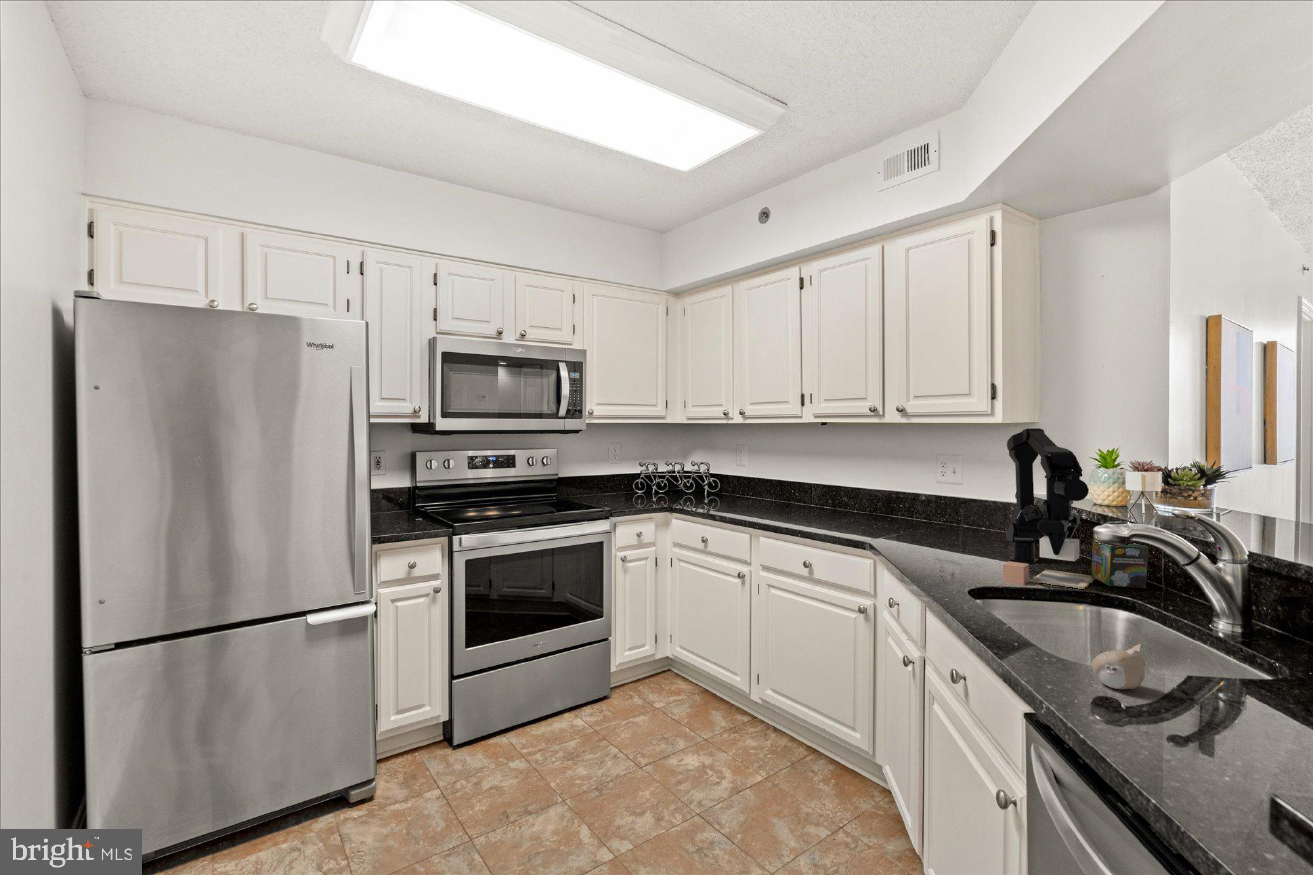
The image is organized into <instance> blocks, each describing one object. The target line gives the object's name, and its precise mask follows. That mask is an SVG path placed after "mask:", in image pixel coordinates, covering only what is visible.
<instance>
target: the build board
mask: <svg viewBox="0 0 1313 875" xmlns="http://www.w3.org/2000/svg"><path fill="white" fill-rule="evenodd" d="M1095 580H1096V579H1095V578H1093V577H1091V575H1088V574H1081V573H1073V572H1067V571H1058V570H1051V569H1045V570H1043V571H1042V572H1041V573H1039V574H1037V575H1036V576H1034V577H1033V578H1031V579H1030V583H1034V584H1039V583H1047V584H1051V585H1050V586H1052V585H1060V586H1065V587H1064V588H1066V587H1073V588H1078V589H1077V590H1079V589H1084V590H1085V589H1086V588H1088V587H1089V584H1090V583H1091V584H1092V583H1093V582H1094V581H1095ZM1091 584H1090V585H1091ZM1085 587H1086V588H1085Z"/></svg>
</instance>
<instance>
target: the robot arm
mask: <svg viewBox="0 0 1313 875" xmlns="http://www.w3.org/2000/svg"><path fill="white" fill-rule="evenodd" d="M1006 448H1007V450H1008V456H1009V457H1010V459H1011V460H1012V461H1013V463H1014V465H1015V488H1016V489H1015V490H1016V492H1015V493H1016V494H1015V495H1016V497H1015V498H1016V510H1015V511H1014V513H1013V514H1012V515H1011V517H1010V518H1011V519H1010V521H1011V522H1010V524H1009V526H1008V528H1007V530H1006V533H1005V535H1006V540H1007V541H1008V542H1011V543H1013V550H1012V551H1013V557H1011V558H1010V559H1009V561H1010V562H1018V563H1025V564H1035V563H1036V562H1038V561H1039V558H1035V557H1036V556H1035V553H1036V551H1035V546H1036V545H1035V544H1036V543H1038V544H1040V539H1041V538H1042V537H1044V534H1045V536H1048V538H1049V541H1050V544H1051V547H1052V550H1053V553H1054V555H1059V553H1060V551H1061V549H1062V546H1063V544H1064V541H1065V539H1066V538H1071V539H1072V537H1073V535H1074V533H1075V531H1076V530H1077V528H1078V525H1080V520H1081V518H1080V516H1079V515H1078V514H1077V513H1073V512H1072V505H1074V502H1079V501H1083V500H1084V499H1086V497H1088V495H1089V487H1088V484H1087V483H1086V482H1085V481H1084V480H1082V479H1081V477H1083V473H1082V472H1083V468H1082V466H1081V465H1080V462H1079V461H1078V458H1077V456H1076V455H1075V453H1074V452H1073V451H1071V450H1070V449H1068V448H1065V447H1060V446H1058V445H1057V444H1056V443H1055V442H1054V441H1053V440H1052V439H1051V438H1050V437H1049V436H1048V435H1046V433H1045V430H1044V429H1043V428H1040V427H1038V428H1037V427H1036V428H1031V427H1030V428H1024V429H1022V431H1020V432H1017V433H1015V434H1013V435H1011V436H1010V437H1009V438H1008V439H1007V441H1006ZM1038 457H1040V467H1041V468H1042V470H1043V471H1044V473H1045V475H1044V479H1046V482H1045V483H1046V484H1045V486H1046V490H1045V491H1046V492H1045V493H1046V497H1045V498H1046V499H1044V500H1043V501H1042V502H1043V504H1041V505H1036V506H1035V493H1034V492H1035V489H1034V467H1033V466H1034V462H1035V461H1036V460H1037V458H1038ZM1072 524H1074V525H1072Z"/></svg>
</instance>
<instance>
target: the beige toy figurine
mask: <svg viewBox="0 0 1313 875" xmlns="http://www.w3.org/2000/svg"><path fill="white" fill-rule="evenodd" d="M1141 644H1142V643H1139V644H1136V645H1134V646H1132V647H1131V648H1130V649H1125V650H1119V649H1117V650H1106V651H1104V652H1101V653H1099V654H1097V656H1096V657H1095V658H1093V660H1092V662H1091V669H1092V671H1093V674H1094V675H1095V678H1097V680H1099V682H1101V683H1102V684H1104V685H1106V686H1107V687H1109V688H1111V689H1116V690H1134V689H1137V688H1138V687H1140V686H1141V685H1142V684H1143V682H1144V679H1145V674H1146V673H1145V671H1146V670H1145V665H1146V662H1145V660H1144V658H1143V656H1141V655H1140V653H1139V652H1141V650H1142V647H1143V645H1141Z"/></svg>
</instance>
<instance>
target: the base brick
mask: <svg viewBox="0 0 1313 875" xmlns="http://www.w3.org/2000/svg"><path fill="white" fill-rule="evenodd" d="M1039 558H1046V559H1053V560H1061V561H1069V562H1076V561H1077V560H1078V559H1079V558H1080V539H1078V538H1072V537H1071V538H1066V539H1065V541H1064V544H1063V546H1062V549H1061V551H1060V553H1059V555H1054V553H1053V550H1052V547H1051V544H1050V541H1049V538H1048V536H1047V535H1043V537H1042V538H1041V539H1040V543H1039Z"/></svg>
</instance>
